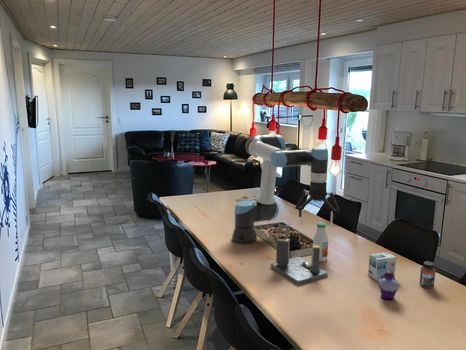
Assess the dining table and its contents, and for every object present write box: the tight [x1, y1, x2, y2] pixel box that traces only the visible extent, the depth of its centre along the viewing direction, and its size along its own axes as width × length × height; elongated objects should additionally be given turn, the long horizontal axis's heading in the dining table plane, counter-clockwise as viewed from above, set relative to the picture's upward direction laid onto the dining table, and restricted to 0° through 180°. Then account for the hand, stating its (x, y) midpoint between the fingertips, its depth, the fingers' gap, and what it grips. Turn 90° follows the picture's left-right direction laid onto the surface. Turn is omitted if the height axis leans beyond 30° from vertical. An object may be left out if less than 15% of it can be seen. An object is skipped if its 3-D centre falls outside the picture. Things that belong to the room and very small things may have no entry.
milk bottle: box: [312, 222, 329, 263], centre depth 205 cm, size 8×8×20 cm
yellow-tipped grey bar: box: [275, 238, 291, 267], centre depth 194 cm, size 6×5×14 cm
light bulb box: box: [367, 251, 397, 281], centre depth 186 cm, size 11×7×11 cm, turn 105°
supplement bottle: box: [419, 260, 436, 290], centre depth 176 cm, size 6×6×11 cm
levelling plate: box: [270, 256, 328, 286], centre depth 192 cm, size 22×18×4 cm
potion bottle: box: [378, 270, 400, 302], centre depth 166 cm, size 9×9×12 cm
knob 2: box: [310, 243, 320, 273], centre depth 187 cm, size 6×5×14 cm
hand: (316, 224), depth 184 cm, fingers open, 13 cm apart
